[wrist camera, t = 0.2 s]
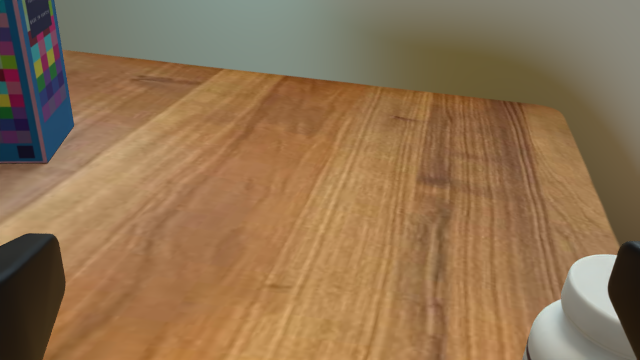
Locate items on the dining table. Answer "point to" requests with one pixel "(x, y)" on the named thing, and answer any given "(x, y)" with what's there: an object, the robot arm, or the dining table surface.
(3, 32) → the box
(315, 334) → the dining table surface
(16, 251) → the robot arm
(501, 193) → the dining table surface
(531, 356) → the pill bottle
